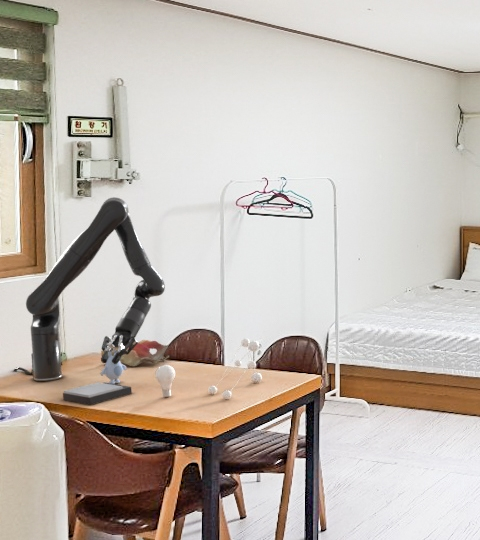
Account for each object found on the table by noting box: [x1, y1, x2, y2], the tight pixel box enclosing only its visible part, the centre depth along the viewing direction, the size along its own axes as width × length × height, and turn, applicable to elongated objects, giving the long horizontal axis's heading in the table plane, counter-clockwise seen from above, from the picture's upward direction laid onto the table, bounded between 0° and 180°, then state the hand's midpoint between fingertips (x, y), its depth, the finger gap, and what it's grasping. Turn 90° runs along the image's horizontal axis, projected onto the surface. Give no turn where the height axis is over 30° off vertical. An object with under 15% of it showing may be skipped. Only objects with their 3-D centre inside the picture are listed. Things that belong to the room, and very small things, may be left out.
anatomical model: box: [100, 339, 170, 367], centre depth 347 cm, size 23×25×10 cm
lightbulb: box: [154, 364, 177, 398], centre depth 292 cm, size 6×6×11 cm
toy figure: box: [100, 350, 128, 384], centre depth 312 cm, size 11×6×12 cm, turn 150°
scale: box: [62, 381, 133, 406], centre depth 294 cm, size 14×16×3 cm
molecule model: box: [207, 338, 263, 400], centre depth 299 cm, size 14×25×18 cm, turn 155°
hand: (108, 362), depth 310 cm, fingers closed on toy figure, 4 cm apart
